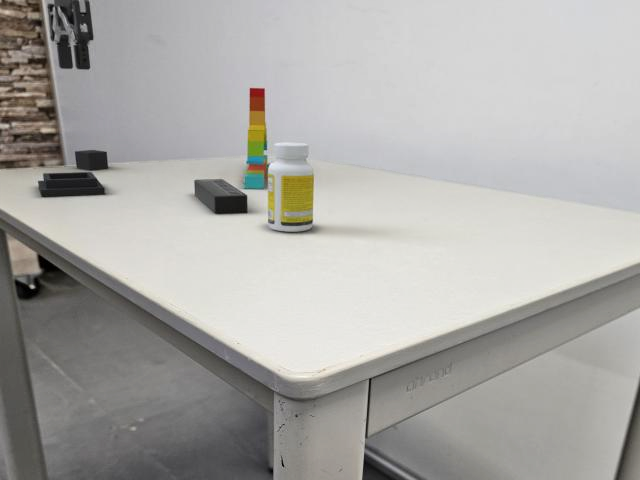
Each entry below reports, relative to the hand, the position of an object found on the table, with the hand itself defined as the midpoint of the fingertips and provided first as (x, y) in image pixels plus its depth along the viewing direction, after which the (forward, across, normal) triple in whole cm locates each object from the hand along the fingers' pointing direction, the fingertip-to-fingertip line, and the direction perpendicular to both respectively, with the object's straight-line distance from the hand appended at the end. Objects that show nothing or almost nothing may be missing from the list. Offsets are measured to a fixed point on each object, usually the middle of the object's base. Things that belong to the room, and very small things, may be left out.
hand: (74, 69), depth 109 cm
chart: (+17, +19, +25) cm, 36 cm away
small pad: (+17, -2, +2) cm, 17 cm away
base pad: (+17, +20, -9) cm, 28 cm away
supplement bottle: (+17, +58, +4) cm, 60 cm away
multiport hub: (+17, +40, +5) cm, 44 cm away
